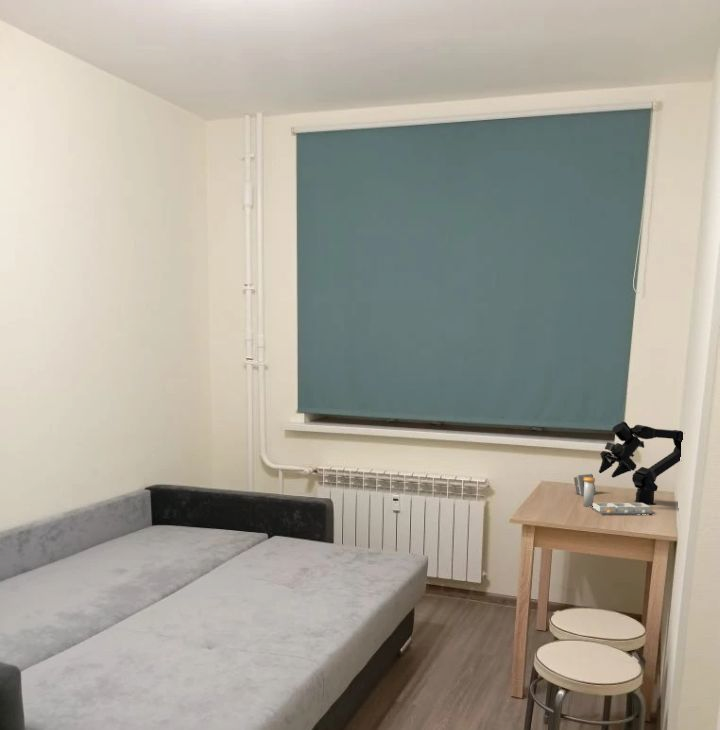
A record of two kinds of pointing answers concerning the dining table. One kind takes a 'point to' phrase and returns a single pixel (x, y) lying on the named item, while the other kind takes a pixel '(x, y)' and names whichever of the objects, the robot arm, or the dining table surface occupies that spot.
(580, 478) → the electrical switch
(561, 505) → the dining table surface
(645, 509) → the grey compartment tray
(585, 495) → the plug
